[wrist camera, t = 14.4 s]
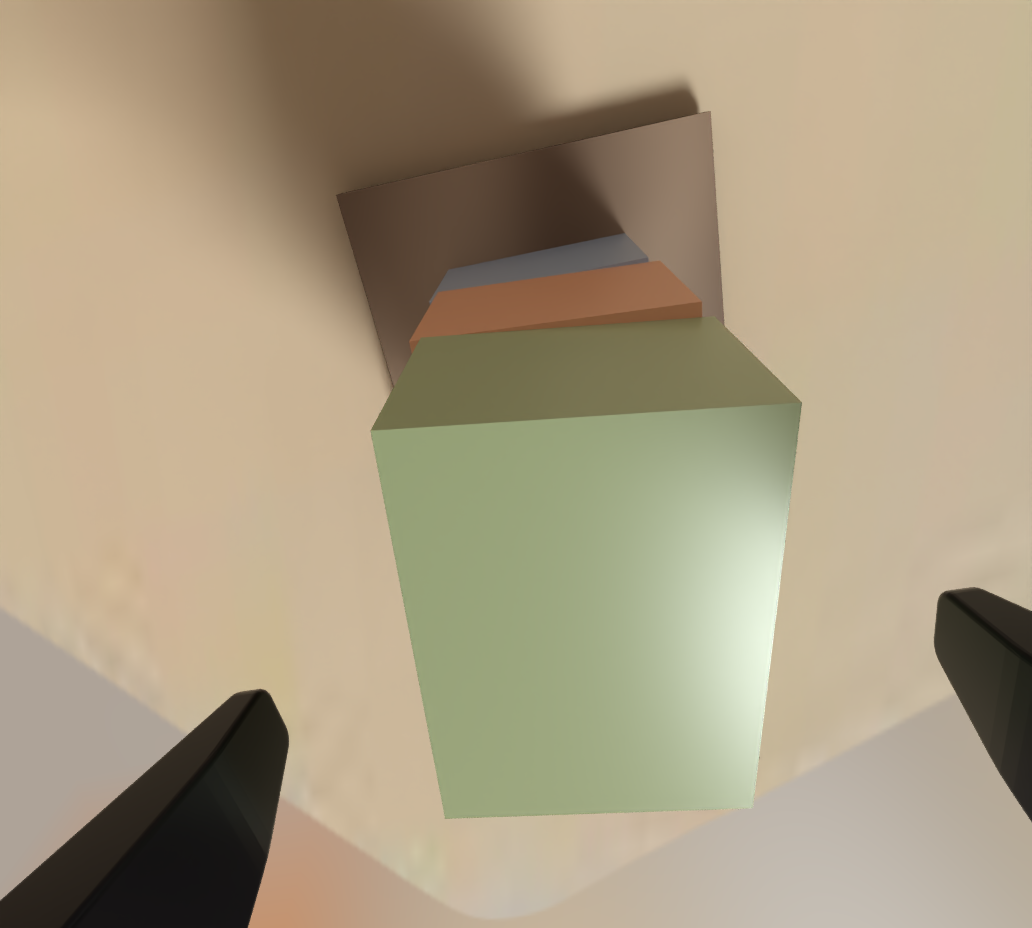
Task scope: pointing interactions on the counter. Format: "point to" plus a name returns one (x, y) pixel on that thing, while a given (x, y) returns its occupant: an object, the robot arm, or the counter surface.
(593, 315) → the terracotta brick
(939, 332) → the counter surface
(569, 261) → the base brick
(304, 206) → the counter surface
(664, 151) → the walnut board
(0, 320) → the counter surface
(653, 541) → the olive brick
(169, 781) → the robot arm
